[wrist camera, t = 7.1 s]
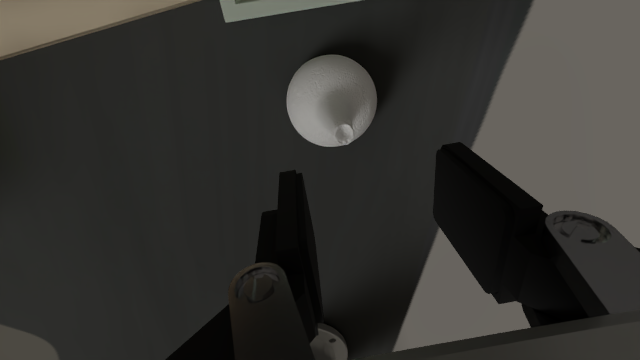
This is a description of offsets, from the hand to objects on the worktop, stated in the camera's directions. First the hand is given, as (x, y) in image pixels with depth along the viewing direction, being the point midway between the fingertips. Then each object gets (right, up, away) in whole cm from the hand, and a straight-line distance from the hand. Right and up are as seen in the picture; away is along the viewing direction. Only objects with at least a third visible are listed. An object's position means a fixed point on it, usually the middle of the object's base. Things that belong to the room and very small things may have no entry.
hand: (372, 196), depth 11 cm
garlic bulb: (-1, +7, +12) cm, 14 cm away
